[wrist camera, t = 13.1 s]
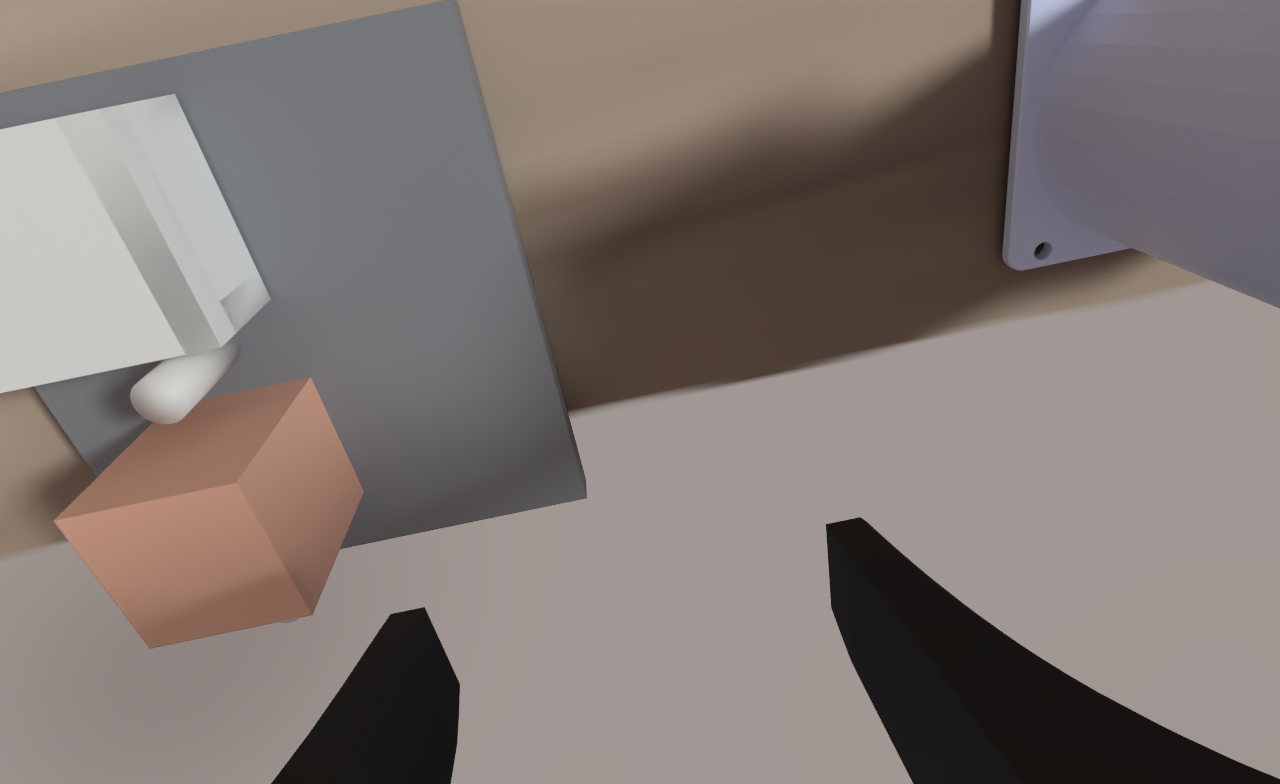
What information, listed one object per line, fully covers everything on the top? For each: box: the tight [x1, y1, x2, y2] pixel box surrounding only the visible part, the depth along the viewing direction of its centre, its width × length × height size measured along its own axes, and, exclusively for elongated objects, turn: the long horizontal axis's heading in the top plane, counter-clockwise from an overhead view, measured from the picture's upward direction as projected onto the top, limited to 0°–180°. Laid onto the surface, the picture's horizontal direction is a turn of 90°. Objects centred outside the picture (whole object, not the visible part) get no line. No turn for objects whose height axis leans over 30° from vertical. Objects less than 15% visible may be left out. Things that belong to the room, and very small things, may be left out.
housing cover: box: [0, 94, 271, 393], centre depth 16 cm, size 6×5×3 cm
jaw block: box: [54, 377, 364, 648], centre depth 18 cm, size 4×4×5 cm
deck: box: [0, 0, 587, 623], centre depth 18 cm, size 14×14×4 cm
